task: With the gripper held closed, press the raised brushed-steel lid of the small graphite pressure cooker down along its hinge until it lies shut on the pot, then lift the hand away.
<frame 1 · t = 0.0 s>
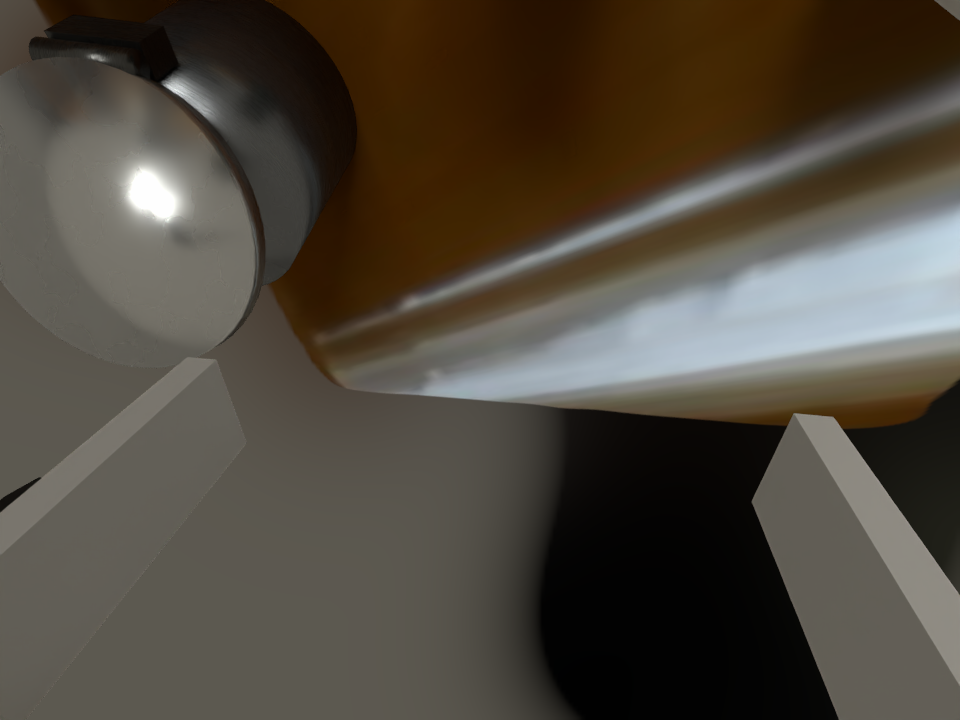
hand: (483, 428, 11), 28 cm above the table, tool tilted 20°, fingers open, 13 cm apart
cooker pot: (262, 105, 35), on the table
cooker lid: (116, 221, 24), point 16 cm above the table, hinge at 31.2°, touching cooker pot
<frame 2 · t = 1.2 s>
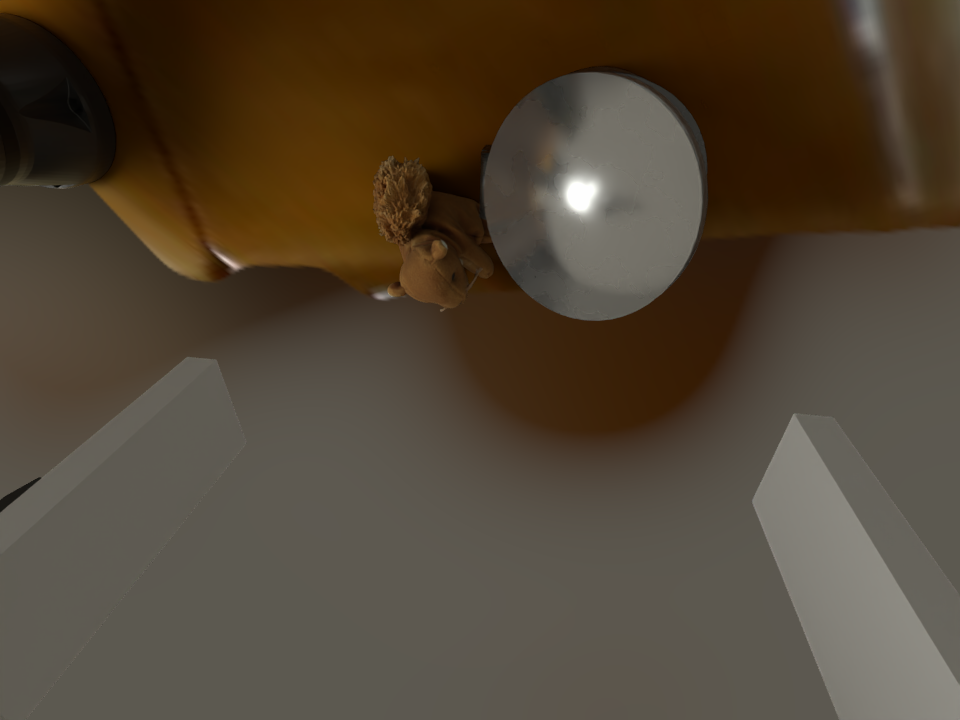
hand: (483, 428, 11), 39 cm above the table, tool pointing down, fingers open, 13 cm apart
cooker pot: (591, 156, 43), on the table
stuffed squirrel: (437, 218, 49), on the table
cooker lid: (576, 206, 30), point 16 cm above the table, hinge at 31.1°, touching cooker pot
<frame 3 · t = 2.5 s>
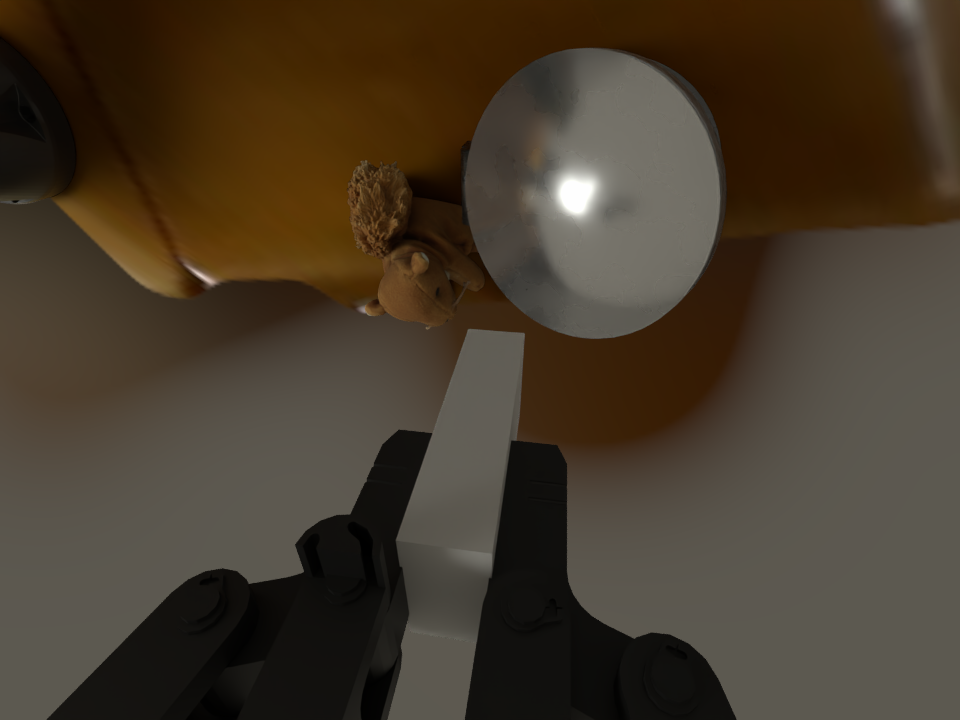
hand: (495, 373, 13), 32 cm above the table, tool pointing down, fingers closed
cooker pot: (589, 151, 39), on the table
stuffed squirrel: (423, 226, 45), on the table
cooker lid: (570, 208, 26), point 16 cm above the table, hinge at 31.1°, touching cooker pot
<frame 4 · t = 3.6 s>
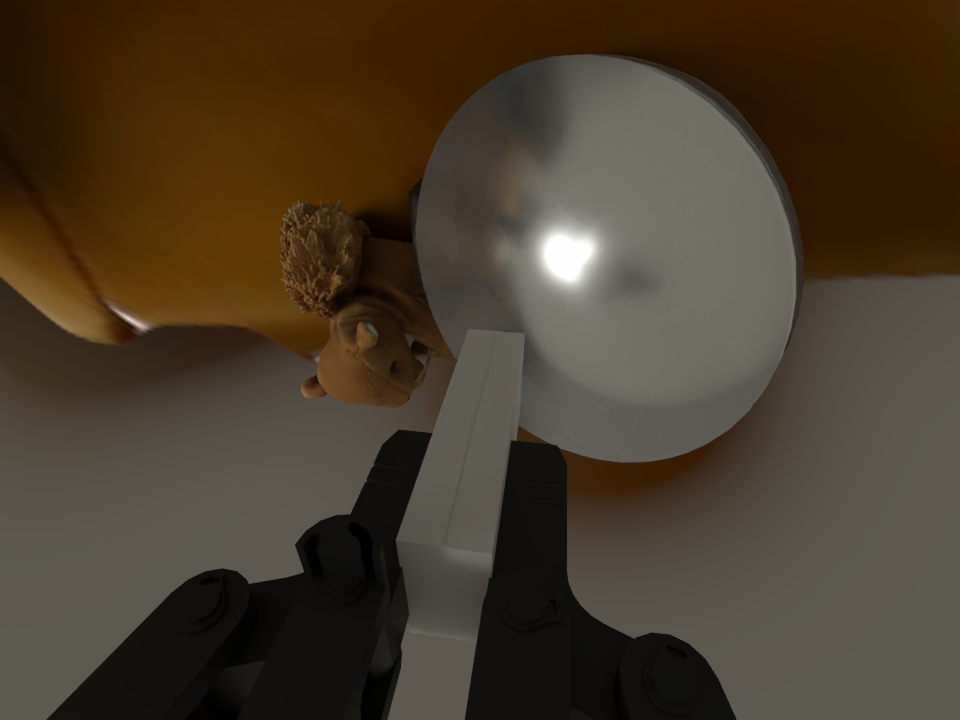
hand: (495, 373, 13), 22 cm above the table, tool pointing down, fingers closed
stuffed squirrel: (387, 269, 37), on the table
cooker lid: (559, 283, 18), point 16 cm above the table, hinge at 31.1°, touching cooker pot
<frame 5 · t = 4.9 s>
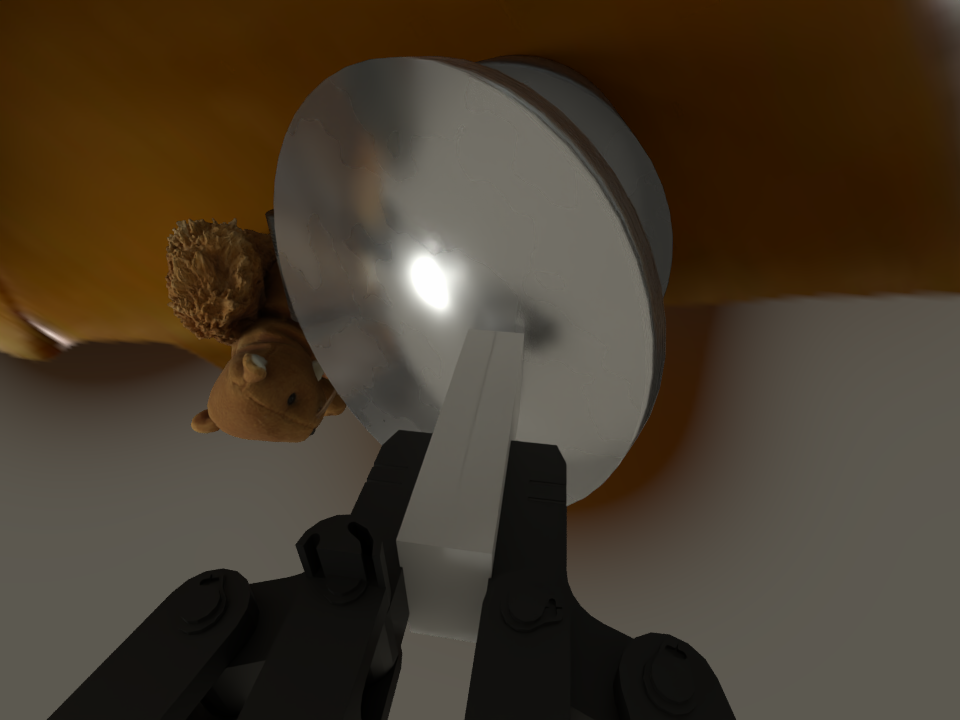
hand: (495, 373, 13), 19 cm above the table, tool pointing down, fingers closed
cooker pot: (513, 192, 29), on the table
stuffed squirrel: (312, 287, 35), on the table
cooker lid: (425, 315, 16), point 16 cm above the table, hinge at 28.0°, touching gripper
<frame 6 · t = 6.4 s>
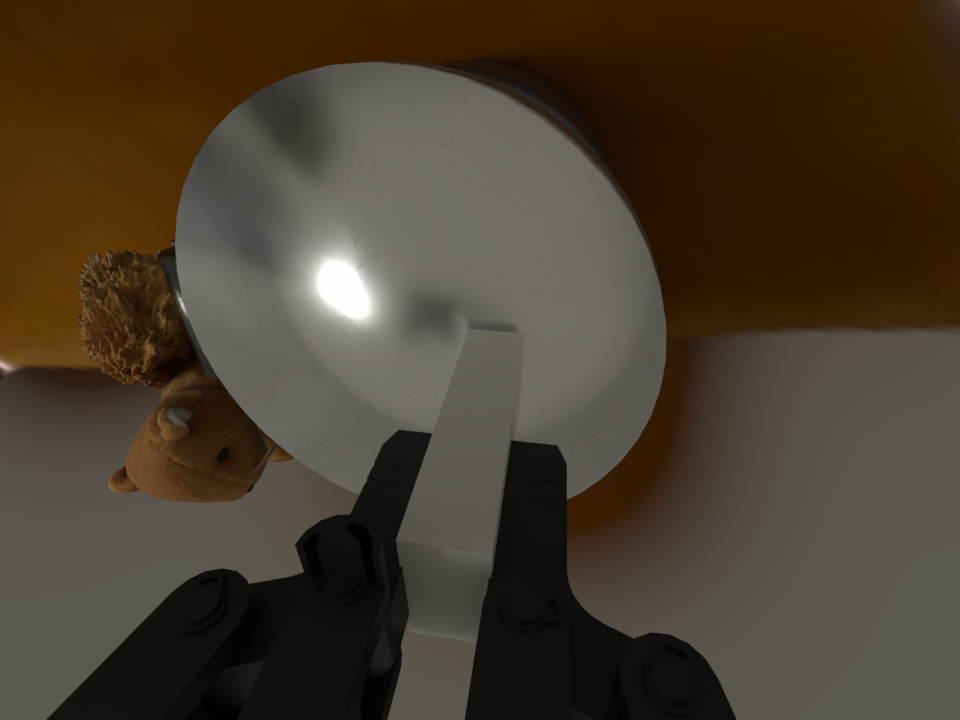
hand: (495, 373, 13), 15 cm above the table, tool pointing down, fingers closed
cooker pot: (479, 213, 26), on the table
stuffed squirrel: (266, 316, 32), on the table
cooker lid: (399, 339, 15), point 13 cm above the table, hinge at 4.8°
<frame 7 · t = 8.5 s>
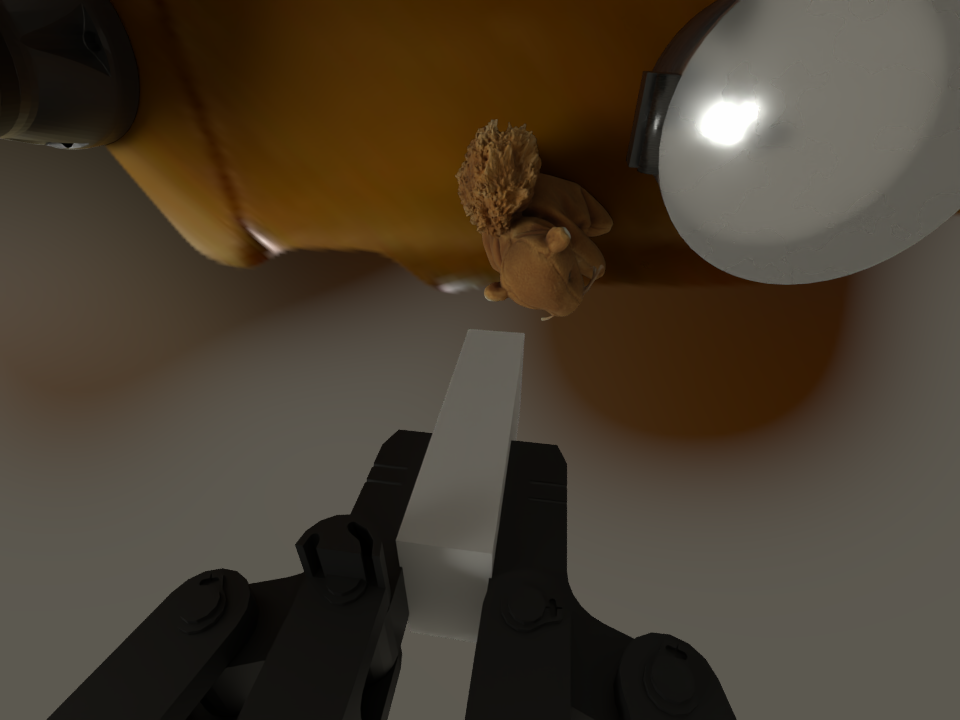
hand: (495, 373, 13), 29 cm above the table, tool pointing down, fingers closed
cooker pot: (744, 108, 33), on the table
stuffed squirrel: (528, 206, 40), on the table
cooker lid: (812, 135, 23), point 13 cm above the table, hinge at 2.1°
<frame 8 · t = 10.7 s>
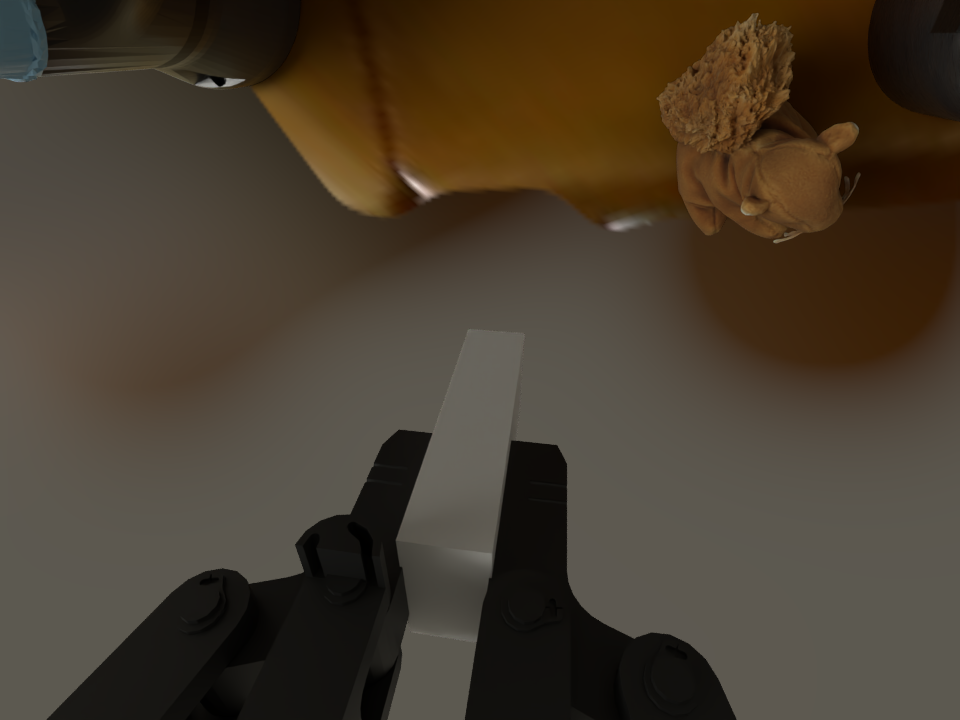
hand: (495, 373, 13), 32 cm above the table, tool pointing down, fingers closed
stuffed squirrel: (720, 132, 37), on the table
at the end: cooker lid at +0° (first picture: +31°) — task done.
